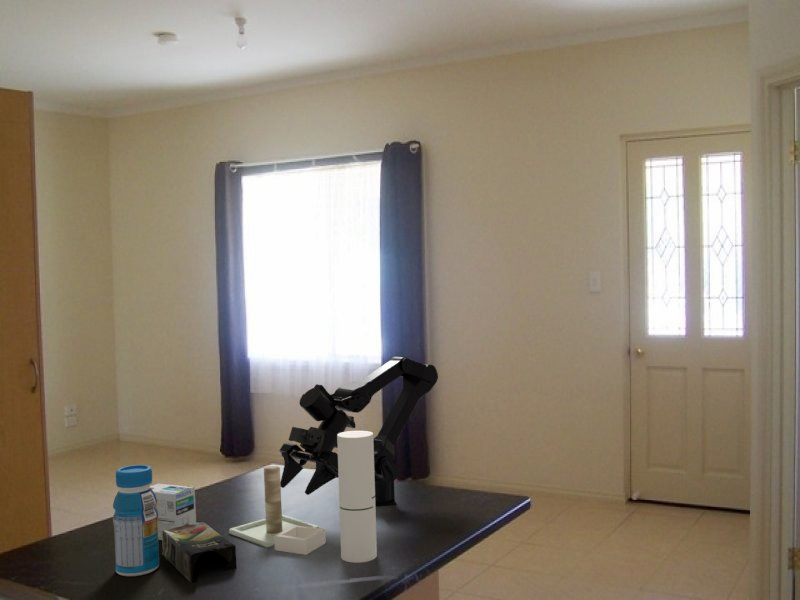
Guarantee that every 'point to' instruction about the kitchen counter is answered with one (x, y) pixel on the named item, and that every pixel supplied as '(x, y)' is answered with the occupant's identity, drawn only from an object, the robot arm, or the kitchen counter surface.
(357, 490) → the cylindrical container
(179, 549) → the juice carton
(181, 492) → the light bulb box
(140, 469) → the beverage bottle
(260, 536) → the tray
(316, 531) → the holder
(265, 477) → the dowel
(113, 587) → the kitchen counter surface
